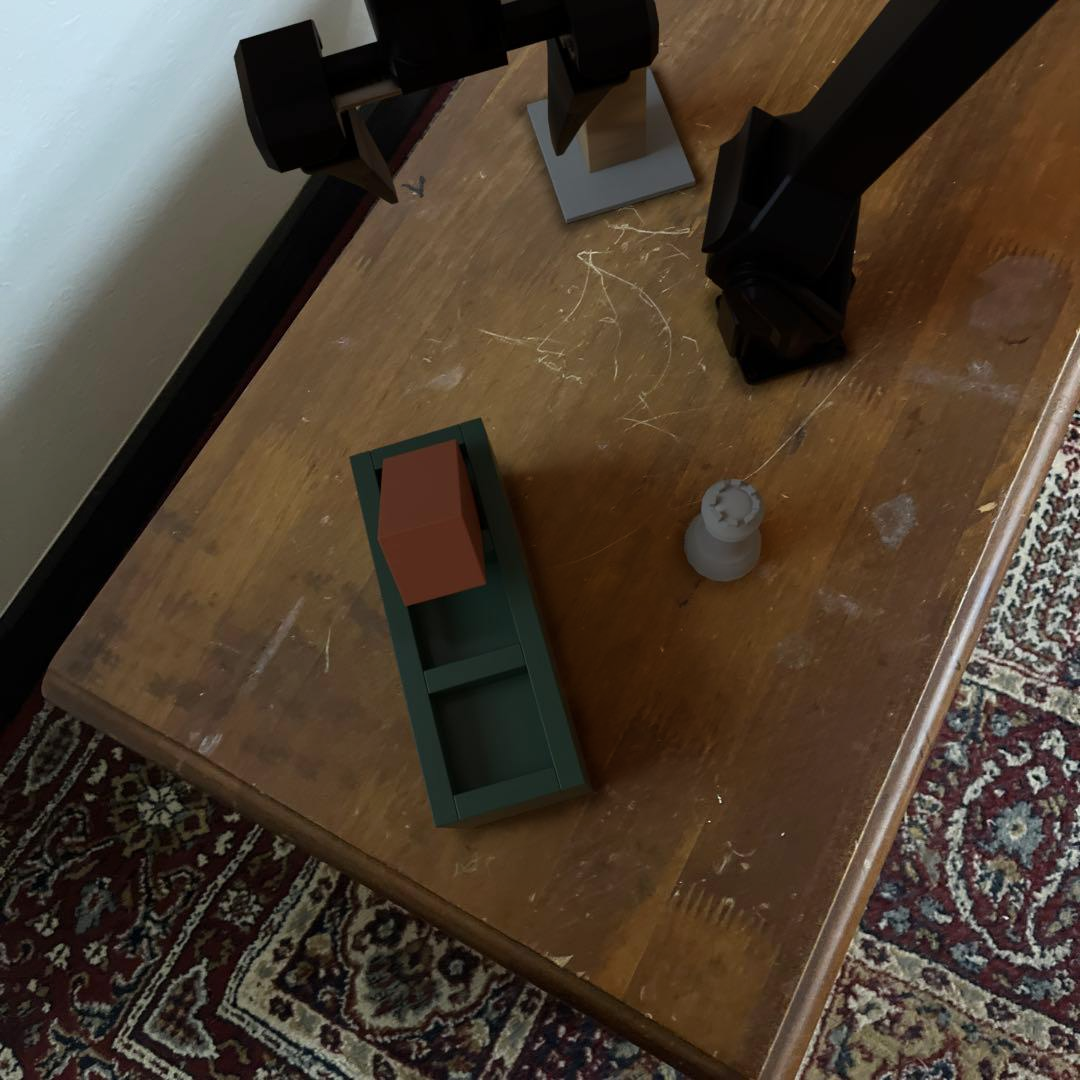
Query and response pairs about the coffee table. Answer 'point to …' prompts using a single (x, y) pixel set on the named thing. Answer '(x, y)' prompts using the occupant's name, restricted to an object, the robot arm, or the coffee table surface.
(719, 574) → the rook chess piece
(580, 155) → the mat
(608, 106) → the maple peg
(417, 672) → the rack
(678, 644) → the coffee table surface
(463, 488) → the terracotta peg
